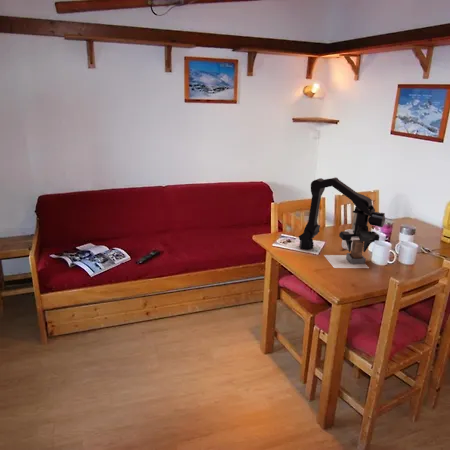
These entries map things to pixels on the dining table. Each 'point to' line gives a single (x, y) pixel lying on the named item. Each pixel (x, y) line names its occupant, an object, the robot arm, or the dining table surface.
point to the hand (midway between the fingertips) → (356, 251)
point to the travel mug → (354, 220)
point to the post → (357, 249)
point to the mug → (351, 239)
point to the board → (342, 262)
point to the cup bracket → (355, 259)
